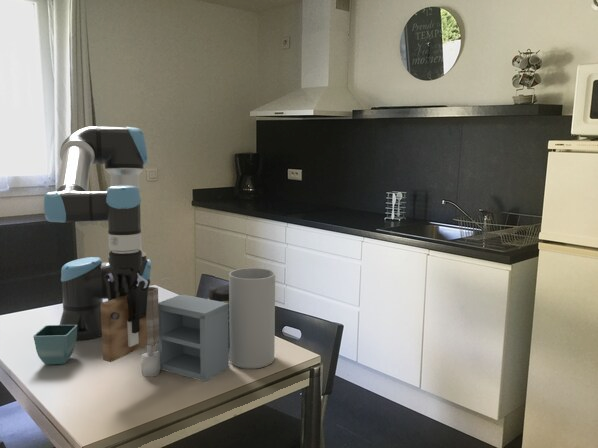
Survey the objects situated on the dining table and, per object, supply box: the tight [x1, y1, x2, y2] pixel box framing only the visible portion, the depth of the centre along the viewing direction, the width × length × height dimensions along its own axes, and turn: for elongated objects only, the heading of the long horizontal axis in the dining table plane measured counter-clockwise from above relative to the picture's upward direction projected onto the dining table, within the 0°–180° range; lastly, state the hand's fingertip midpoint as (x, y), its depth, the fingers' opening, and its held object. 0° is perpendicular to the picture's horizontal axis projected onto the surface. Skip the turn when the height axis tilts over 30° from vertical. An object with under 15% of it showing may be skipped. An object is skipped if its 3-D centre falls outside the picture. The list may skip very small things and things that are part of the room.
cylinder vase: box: [228, 267, 276, 370], centre depth 144 cm, size 12×12×25 cm
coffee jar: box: [207, 284, 230, 349], centre depth 155 cm, size 10×8×19 cm
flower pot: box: [33, 324, 77, 365], centre depth 143 cm, size 9×9×9 cm
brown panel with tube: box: [101, 286, 159, 363], centre depth 129 cm, size 17×5×14 cm, turn 152°
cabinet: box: [140, 294, 230, 382], centre depth 137 cm, size 18×15×18 cm
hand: (128, 343), depth 129 cm, fingers closed on brown panel with tube, 2 cm apart
